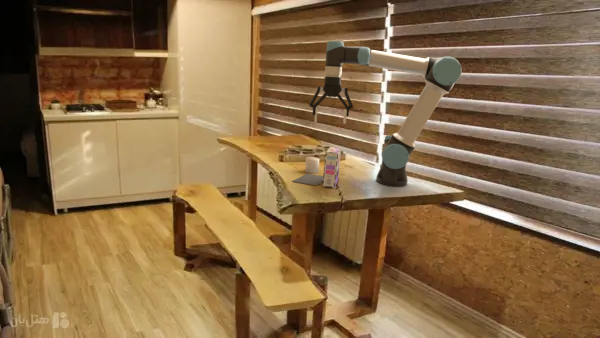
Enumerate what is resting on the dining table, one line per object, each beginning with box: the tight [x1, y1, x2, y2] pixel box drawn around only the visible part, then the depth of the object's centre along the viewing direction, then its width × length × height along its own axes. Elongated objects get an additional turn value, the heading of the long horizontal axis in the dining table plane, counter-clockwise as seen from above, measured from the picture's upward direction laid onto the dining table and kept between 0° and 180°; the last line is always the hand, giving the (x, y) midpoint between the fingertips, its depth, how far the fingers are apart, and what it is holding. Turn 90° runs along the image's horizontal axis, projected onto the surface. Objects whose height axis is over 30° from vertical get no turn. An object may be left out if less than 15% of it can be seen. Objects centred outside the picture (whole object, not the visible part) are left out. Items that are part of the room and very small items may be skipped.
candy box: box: [322, 146, 342, 189], centre depth 214 cm, size 14×6×16 cm, turn 168°
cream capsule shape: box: [304, 156, 320, 174], centre depth 236 cm, size 7×7×7 cm
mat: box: [291, 173, 323, 187], centre depth 221 cm, size 12×18×1 cm, turn 157°
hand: (329, 122), depth 215 cm, fingers open, 13 cm apart
